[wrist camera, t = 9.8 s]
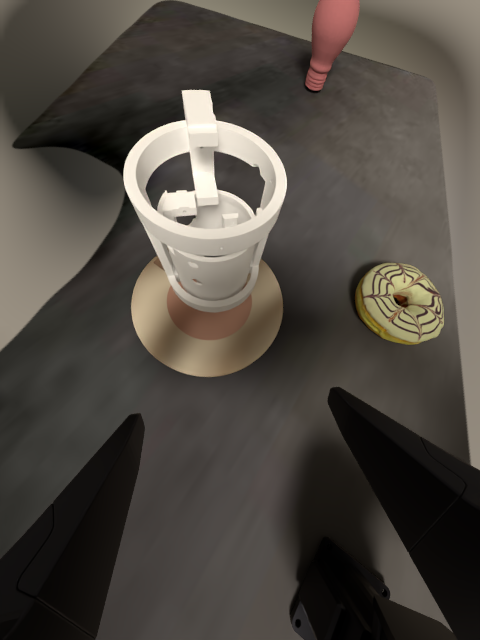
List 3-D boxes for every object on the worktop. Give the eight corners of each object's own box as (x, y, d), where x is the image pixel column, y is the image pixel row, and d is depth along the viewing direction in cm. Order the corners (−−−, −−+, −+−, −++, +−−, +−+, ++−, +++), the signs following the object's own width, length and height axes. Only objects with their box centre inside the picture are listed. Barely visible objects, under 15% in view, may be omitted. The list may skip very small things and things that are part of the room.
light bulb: (316, 105, 41) (354, -4, 29) (288, 86, 42) (315, -26, 31) (335, 93, 43) (378, -13, 32) (308, 76, 44) (341, -33, 33)
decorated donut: (436, 308, 29) (467, 297, 25) (400, 364, 25) (431, 360, 22) (375, 260, 30) (396, 242, 27) (334, 307, 27) (352, 294, 23)
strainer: (241, 266, 24) (272, 87, 10) (253, 325, 22) (317, 207, 8) (178, 274, 23) (108, 85, 9) (185, 336, 21) (110, 224, 7)
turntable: (305, 293, 25) (309, 289, 24) (223, 411, 20) (223, 412, 19) (201, 222, 27) (200, 215, 26) (100, 313, 22) (95, 309, 21)
